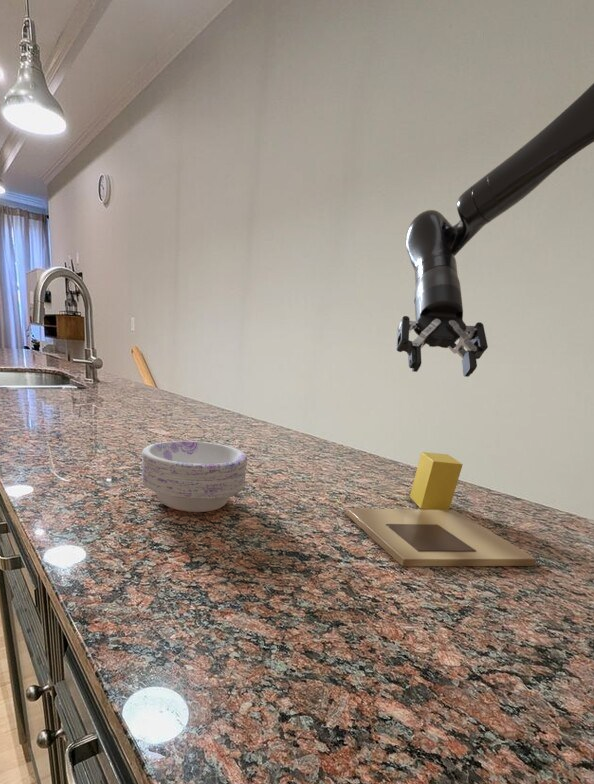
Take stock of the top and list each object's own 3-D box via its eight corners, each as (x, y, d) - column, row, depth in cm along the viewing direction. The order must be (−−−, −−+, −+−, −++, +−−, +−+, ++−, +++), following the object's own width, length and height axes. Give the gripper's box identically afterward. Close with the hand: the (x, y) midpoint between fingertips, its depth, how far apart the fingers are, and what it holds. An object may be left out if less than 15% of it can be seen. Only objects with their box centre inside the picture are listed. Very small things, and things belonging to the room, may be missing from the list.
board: (452, 515, 70) (454, 509, 70) (534, 566, 56) (537, 558, 55) (345, 514, 67) (347, 507, 67) (402, 566, 53) (404, 558, 52)
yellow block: (435, 499, 77) (448, 454, 74) (448, 512, 72) (463, 464, 69) (409, 496, 78) (421, 451, 75) (420, 508, 72) (433, 461, 69)
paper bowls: (183, 479, 77) (186, 433, 74) (260, 502, 69) (266, 452, 66) (119, 501, 66) (119, 448, 63) (202, 532, 58) (207, 473, 55)
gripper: (405, 279, 78) (408, 351, 72) (489, 286, 77) (499, 359, 71) (390, 313, 85) (391, 381, 79) (467, 319, 84) (475, 389, 78)
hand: (442, 371), depth 75 cm, fingers open, 8 cm apart
